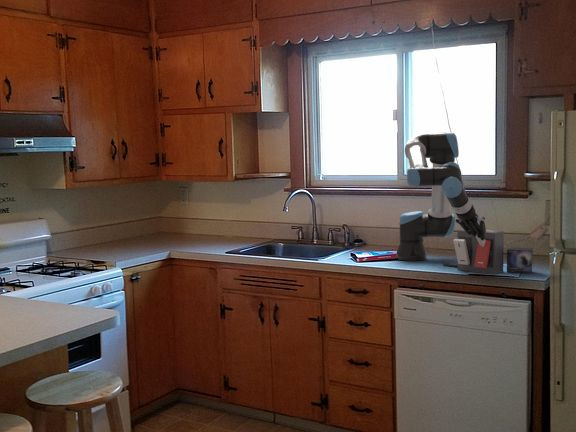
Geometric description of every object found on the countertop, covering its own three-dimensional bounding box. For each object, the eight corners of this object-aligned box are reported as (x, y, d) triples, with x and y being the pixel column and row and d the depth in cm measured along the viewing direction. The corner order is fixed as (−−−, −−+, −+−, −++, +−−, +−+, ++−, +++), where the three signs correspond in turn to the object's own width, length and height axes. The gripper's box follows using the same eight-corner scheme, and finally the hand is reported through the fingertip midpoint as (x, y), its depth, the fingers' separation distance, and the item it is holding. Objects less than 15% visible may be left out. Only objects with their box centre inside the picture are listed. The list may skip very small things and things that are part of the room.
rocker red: (474, 266, 282) (478, 239, 283) (476, 267, 283) (480, 240, 284) (484, 267, 278) (489, 240, 280) (486, 268, 279) (490, 241, 281)
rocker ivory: (458, 263, 291) (453, 240, 287) (460, 262, 293) (454, 238, 288) (468, 265, 288) (463, 241, 284) (470, 263, 289) (465, 239, 285)
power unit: (436, 267, 300) (436, 228, 298) (447, 264, 307) (446, 226, 305) (493, 274, 281) (493, 233, 279) (503, 271, 287) (503, 230, 286)
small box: (506, 272, 284) (506, 249, 283) (506, 270, 290) (507, 246, 289) (532, 274, 281) (532, 250, 279) (532, 271, 287) (532, 247, 286)
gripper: (446, 214, 270) (466, 249, 283) (474, 215, 261) (494, 251, 274) (452, 200, 273) (472, 236, 287) (481, 201, 264) (500, 237, 277)
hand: (483, 243), depth 280 cm, fingers closed
